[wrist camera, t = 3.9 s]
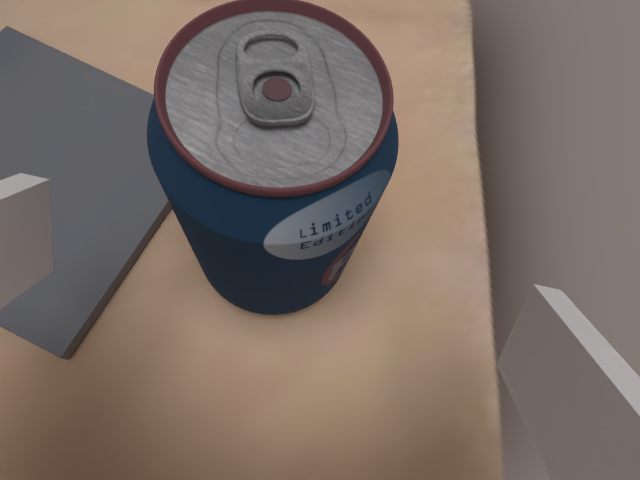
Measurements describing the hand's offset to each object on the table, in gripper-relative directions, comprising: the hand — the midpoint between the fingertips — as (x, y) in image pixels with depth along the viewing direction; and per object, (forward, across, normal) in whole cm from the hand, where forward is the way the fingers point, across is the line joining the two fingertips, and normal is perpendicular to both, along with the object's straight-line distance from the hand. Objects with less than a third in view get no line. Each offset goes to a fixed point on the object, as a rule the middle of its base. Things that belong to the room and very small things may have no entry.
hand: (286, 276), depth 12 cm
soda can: (+9, -1, -4) cm, 10 cm away
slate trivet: (+10, -13, -3) cm, 17 cm away
